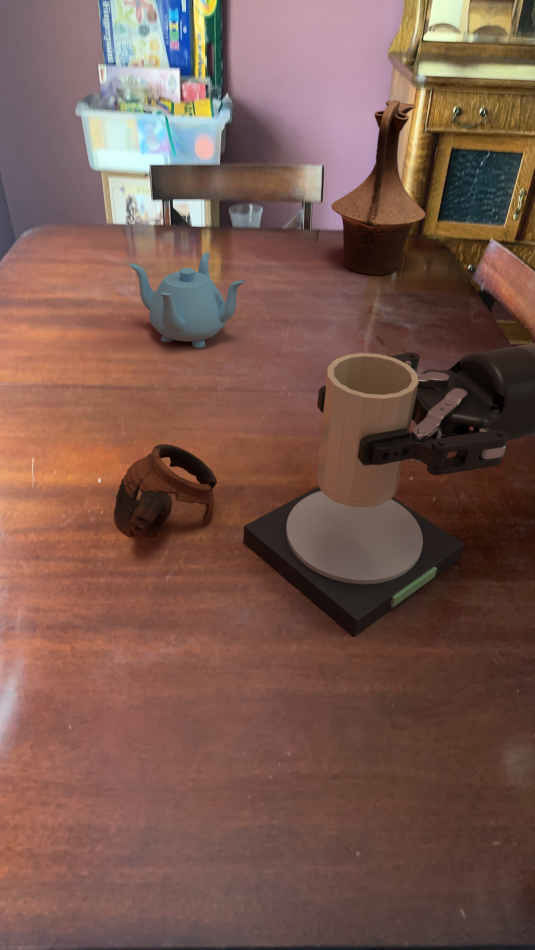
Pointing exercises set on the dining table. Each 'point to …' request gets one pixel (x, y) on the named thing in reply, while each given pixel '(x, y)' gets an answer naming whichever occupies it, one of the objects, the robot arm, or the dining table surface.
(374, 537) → the scale
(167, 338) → the teapot
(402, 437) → the robot arm
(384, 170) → the pitcher
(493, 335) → the dining table surface
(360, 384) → the cup
